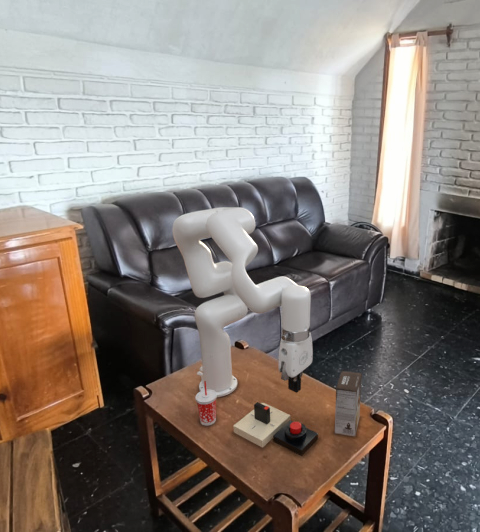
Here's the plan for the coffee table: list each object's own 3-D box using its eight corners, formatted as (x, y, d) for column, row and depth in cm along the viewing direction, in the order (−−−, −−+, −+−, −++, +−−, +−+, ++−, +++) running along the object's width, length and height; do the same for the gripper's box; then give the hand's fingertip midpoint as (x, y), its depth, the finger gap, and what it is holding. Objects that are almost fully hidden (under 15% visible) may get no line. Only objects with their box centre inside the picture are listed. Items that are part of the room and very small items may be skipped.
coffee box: (339, 413, 137) (341, 369, 132) (359, 416, 136) (362, 372, 131) (334, 433, 129) (335, 387, 123) (355, 437, 128) (358, 391, 122)
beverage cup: (207, 430, 129) (204, 390, 124) (193, 422, 132) (189, 382, 127) (222, 418, 134) (220, 379, 129) (208, 411, 137) (205, 372, 132)
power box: (273, 441, 125) (272, 430, 124) (290, 426, 132) (290, 415, 130) (301, 456, 120) (301, 445, 119) (317, 439, 127) (318, 428, 125)
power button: (287, 431, 124) (287, 426, 124) (294, 425, 127) (294, 420, 126) (296, 435, 123) (296, 430, 122) (303, 429, 125) (303, 424, 124)
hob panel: (233, 432, 128) (233, 425, 127) (262, 408, 139) (262, 401, 138) (262, 447, 123) (262, 440, 122) (290, 422, 133) (290, 414, 132)
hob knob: (254, 418, 130) (253, 404, 129) (258, 415, 132) (257, 401, 130) (266, 424, 128) (266, 410, 126) (270, 421, 129) (270, 407, 128)
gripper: (289, 348, 108) (288, 409, 115) (323, 325, 120) (320, 381, 126) (266, 338, 112) (266, 398, 118) (300, 317, 124) (299, 372, 130)
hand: (294, 389), depth 122 cm, fingers closed
